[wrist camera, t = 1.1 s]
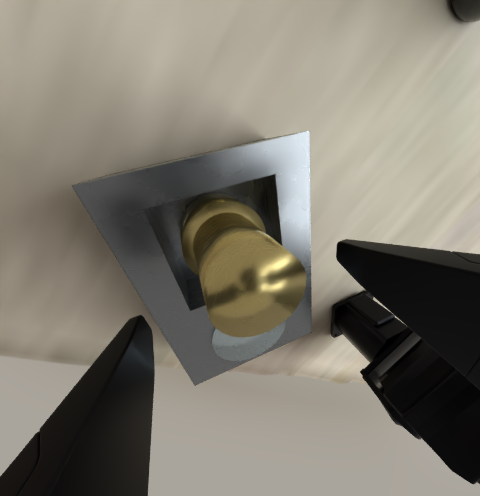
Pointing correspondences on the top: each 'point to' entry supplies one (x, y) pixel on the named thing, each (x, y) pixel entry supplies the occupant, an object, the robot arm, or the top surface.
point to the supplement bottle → (467, 9)
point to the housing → (170, 249)
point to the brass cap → (239, 266)
